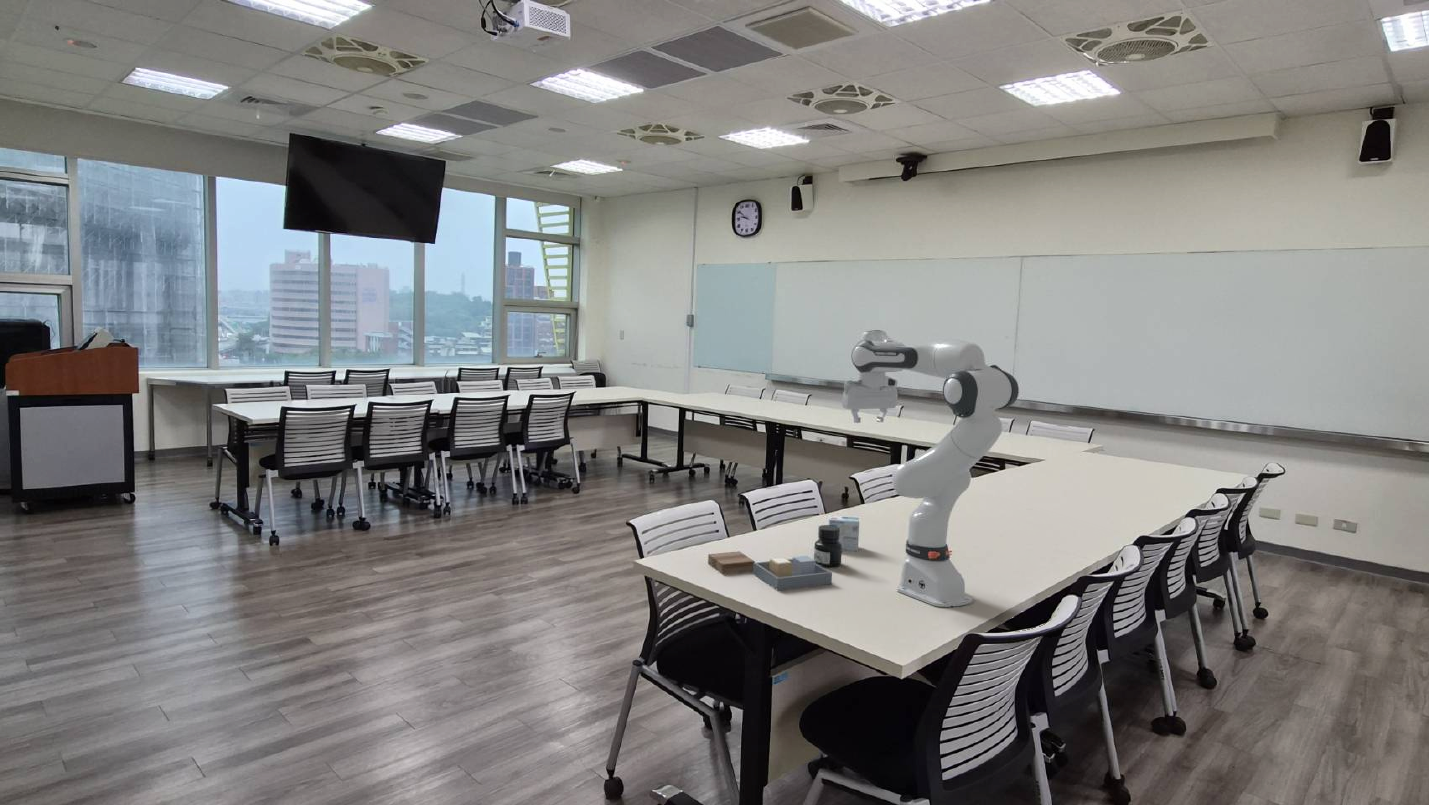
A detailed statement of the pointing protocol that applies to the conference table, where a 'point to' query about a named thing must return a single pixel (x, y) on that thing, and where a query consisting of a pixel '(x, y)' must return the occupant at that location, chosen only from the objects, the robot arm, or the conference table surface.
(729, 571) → the walnut stand
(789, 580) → the parts tray
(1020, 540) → the conference table surface
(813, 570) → the plain box
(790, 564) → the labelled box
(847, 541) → the light bulb box
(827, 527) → the ink bottle
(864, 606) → the conference table surface
